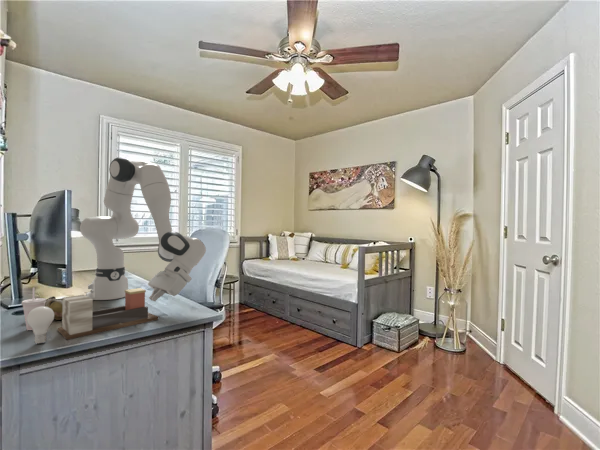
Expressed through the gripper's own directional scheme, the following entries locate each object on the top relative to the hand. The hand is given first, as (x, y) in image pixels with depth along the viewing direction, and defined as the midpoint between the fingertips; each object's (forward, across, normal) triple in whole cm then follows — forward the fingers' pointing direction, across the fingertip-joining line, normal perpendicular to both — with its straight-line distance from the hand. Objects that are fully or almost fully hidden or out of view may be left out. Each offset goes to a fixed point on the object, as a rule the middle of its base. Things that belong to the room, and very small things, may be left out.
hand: (151, 299), depth 121 cm
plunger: (+8, 0, -1) cm, 8 cm away
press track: (+14, 0, -6) cm, 16 cm away
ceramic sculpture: (+23, -23, -14) cm, 36 cm away
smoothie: (+28, -14, -19) cm, 37 cm away
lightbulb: (+29, +4, -20) cm, 35 cm away
